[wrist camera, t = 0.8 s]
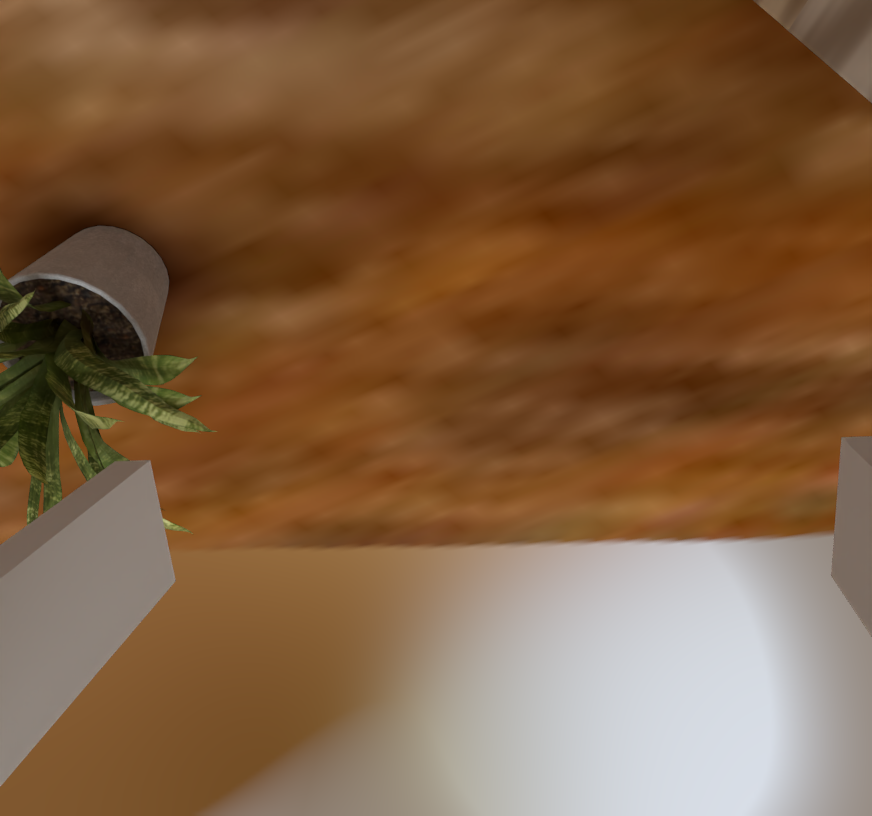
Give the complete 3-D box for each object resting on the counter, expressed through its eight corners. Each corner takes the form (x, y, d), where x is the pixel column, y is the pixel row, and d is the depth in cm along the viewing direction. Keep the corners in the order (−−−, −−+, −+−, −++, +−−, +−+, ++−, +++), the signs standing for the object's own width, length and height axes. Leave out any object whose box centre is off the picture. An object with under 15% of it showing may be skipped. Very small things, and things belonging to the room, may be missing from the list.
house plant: (171, 439, 47) (61, 692, 34) (-65, 308, 41) (-302, 551, 29) (307, 281, 39) (229, 528, 27) (41, 97, 34) (-212, 297, 21)
